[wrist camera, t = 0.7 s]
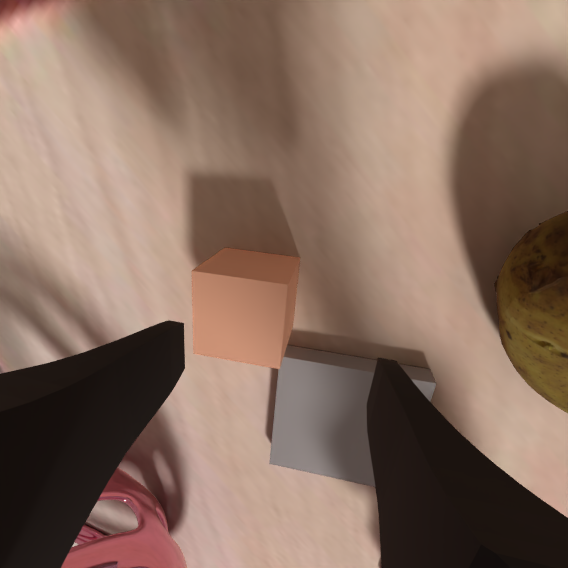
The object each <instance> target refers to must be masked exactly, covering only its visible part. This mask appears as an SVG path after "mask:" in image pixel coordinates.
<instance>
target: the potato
mask: <svg viewBox="0 0 568 568" xmlns="http://www.w3.org/2000/svg"><path fill="white" fill-rule="evenodd" d="M494 285H495V289H496V293H497V310H498V317H499V330H500V337H501V342H502V345H503V347H504V349H505V352H506V353H507V355H508V357H509V359H510V361H511V362H512V364H513V366H514V367H515V369H516V370H517V372H518V373H519V374H520V375H521V377H522V378H523V379H524V380H525V381H526V382H527V384H528V385H529V386H530V387H532V388H533V389H534V390H535V391H536V392H537V393H538V394H540V395H541V396H542V397H544V398H545V399H546V400H548V401H549V402H550V403H552V404H553V405H555V406H557V407H558V408H560V409H562V410H563V411H565V412H567V413H568V211H567V212H564V213H562V214H560V215H558V216H555V217H553V218H551V219H549V220H547V221H545V222H543V223H539V226H538V227H537V228H535V229H533V230H530V231H528V232H527V233H526V234H525V235H524V236H523V238H522V239H521V240H520V241H519V242H518V243H517V244H516V245H515V247H514V248H513V249H512V251H511V253H510V255H509V256H508V258H507V260H506V261H505V263H504V265H503V267H502V270H501V272H500V275H499V276H498V277H497V280H496V281H495V283H494Z"/></svg>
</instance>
